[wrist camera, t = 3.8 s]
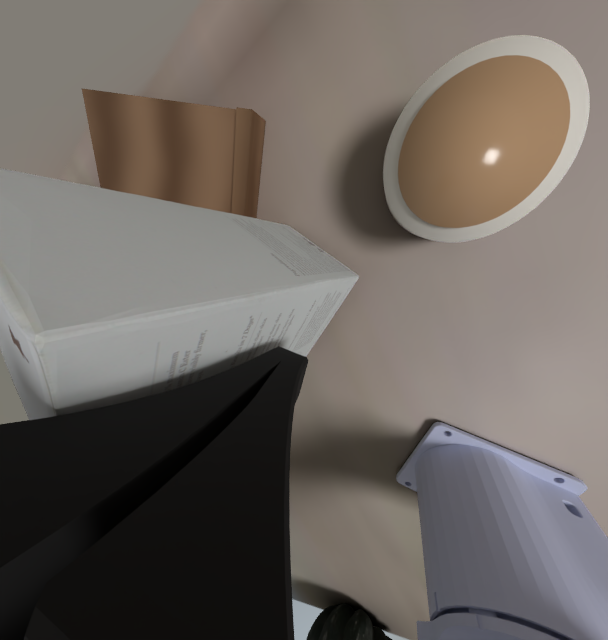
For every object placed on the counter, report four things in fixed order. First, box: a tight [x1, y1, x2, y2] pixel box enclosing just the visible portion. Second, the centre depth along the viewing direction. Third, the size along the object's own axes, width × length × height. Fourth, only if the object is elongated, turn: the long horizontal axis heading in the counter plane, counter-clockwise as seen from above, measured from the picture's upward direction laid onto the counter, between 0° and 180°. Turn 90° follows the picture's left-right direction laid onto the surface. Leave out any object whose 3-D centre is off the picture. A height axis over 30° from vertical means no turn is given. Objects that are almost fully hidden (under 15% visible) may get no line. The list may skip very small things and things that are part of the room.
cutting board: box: [82, 89, 266, 218], centre depth 19 cm, size 14×20×2 cm
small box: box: [0, 168, 359, 420], centre depth 11 cm, size 8×6×13 cm
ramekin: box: [383, 35, 590, 243], centre depth 10 cm, size 6×6×4 cm
